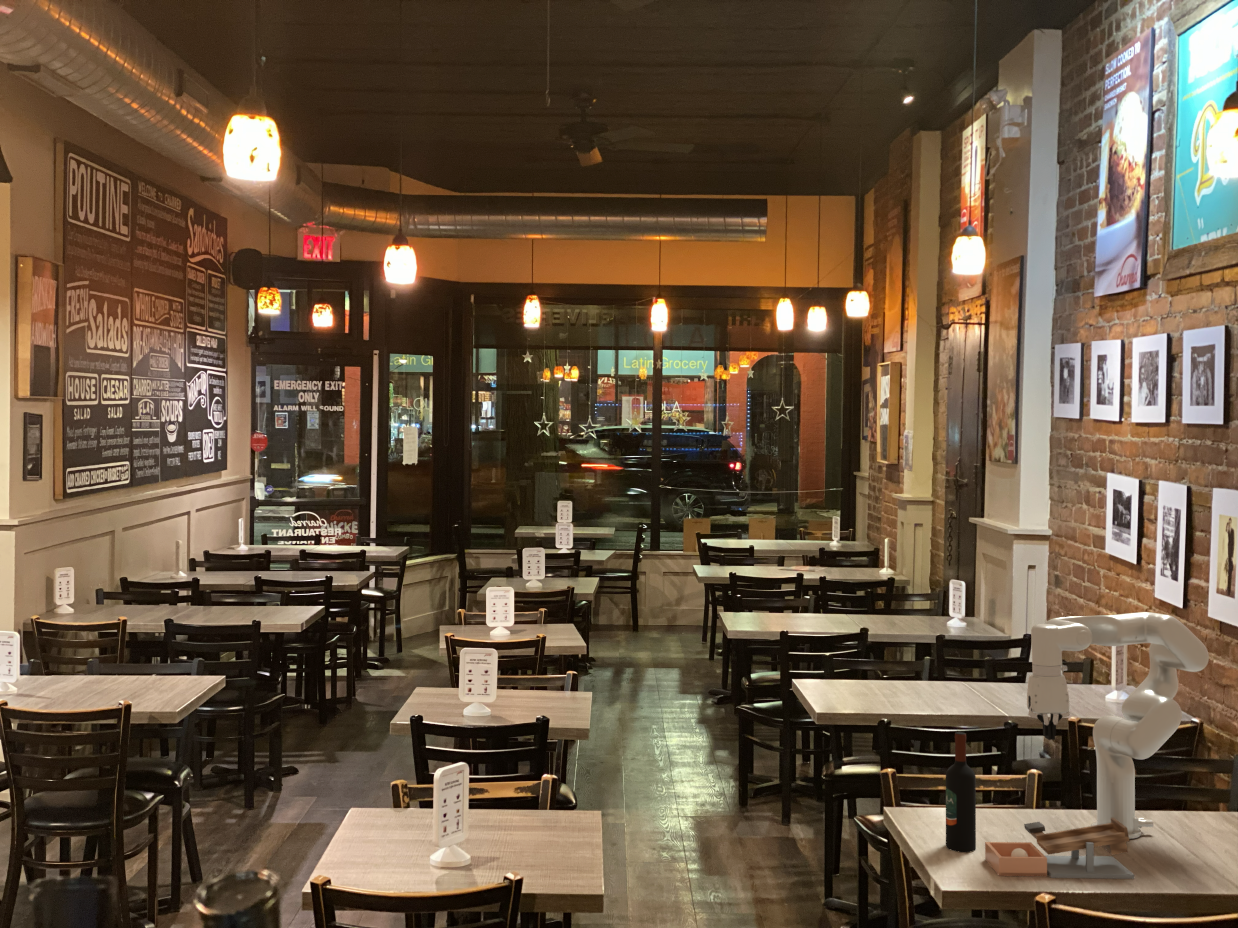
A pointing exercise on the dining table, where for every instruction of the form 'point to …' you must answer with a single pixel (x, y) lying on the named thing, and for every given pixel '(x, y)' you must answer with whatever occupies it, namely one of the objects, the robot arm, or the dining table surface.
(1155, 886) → the dining table surface
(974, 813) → the wine bottle
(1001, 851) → the pink hollow square tray
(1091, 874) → the stand
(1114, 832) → the lever
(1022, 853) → the ball
